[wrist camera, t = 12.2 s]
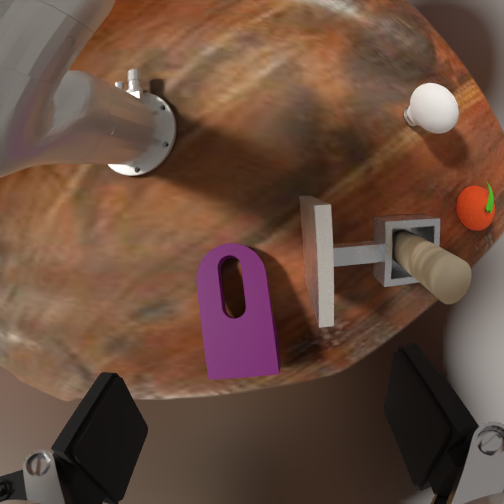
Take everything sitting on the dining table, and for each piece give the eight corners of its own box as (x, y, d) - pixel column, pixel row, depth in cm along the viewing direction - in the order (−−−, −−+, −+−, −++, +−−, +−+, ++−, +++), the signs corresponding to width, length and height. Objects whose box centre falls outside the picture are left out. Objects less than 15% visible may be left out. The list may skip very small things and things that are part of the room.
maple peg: (387, 230, 31) (439, 261, 19) (416, 228, 30) (474, 257, 19) (386, 263, 32) (433, 307, 20) (414, 260, 31) (467, 300, 20)
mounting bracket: (210, 259, 48) (222, 367, 44) (193, 248, 39) (208, 379, 36) (266, 250, 47) (281, 362, 43) (261, 238, 38) (279, 374, 35)
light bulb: (410, 147, 35) (451, 141, 24) (381, 113, 34) (415, 95, 24) (434, 122, 34) (475, 112, 23) (406, 89, 33) (443, 68, 22)
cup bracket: (298, 195, 38) (314, 205, 25) (399, 190, 37) (453, 199, 23) (304, 279, 41) (319, 327, 28) (399, 269, 40) (445, 307, 26)
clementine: (454, 171, 35) (481, 172, 28) (482, 186, 35) (508, 190, 28) (443, 219, 37) (469, 227, 30) (471, 231, 37) (496, 240, 30)
